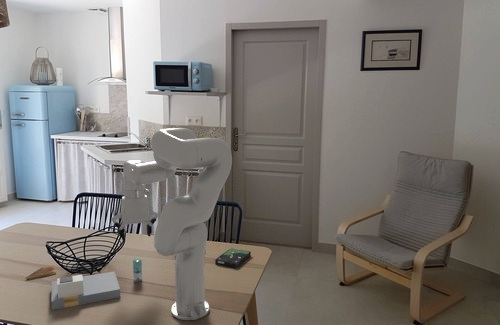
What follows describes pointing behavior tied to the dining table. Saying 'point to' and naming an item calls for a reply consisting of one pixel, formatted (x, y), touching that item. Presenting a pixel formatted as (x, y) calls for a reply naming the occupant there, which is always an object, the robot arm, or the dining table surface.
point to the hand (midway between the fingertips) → (136, 237)
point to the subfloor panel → (89, 291)
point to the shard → (42, 272)
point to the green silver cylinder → (137, 270)
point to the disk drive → (233, 258)
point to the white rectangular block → (70, 286)
